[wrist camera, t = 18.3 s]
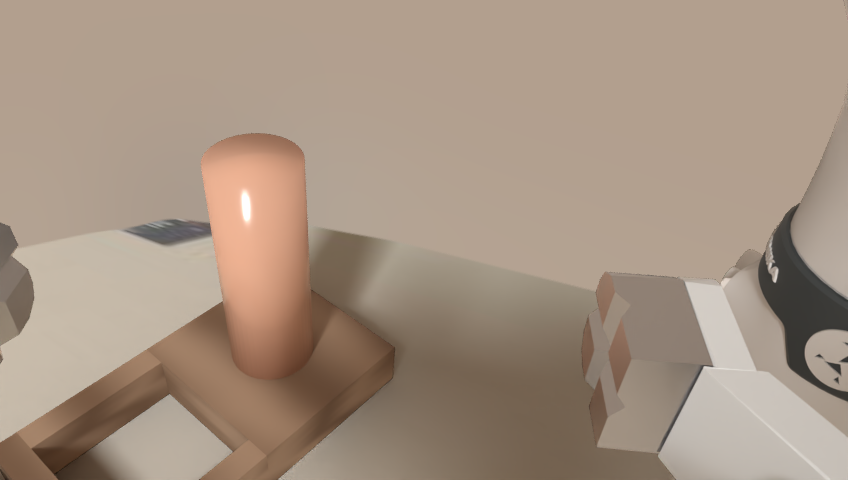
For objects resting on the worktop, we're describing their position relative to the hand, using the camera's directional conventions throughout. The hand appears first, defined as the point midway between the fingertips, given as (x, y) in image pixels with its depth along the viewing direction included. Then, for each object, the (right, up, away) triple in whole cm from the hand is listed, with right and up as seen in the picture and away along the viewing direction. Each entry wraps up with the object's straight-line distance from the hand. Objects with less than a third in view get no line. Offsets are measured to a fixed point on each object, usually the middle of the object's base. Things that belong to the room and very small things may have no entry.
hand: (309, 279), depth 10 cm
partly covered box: (-11, -11, +33) cm, 36 cm away
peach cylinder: (-8, -6, +34) cm, 35 cm away
